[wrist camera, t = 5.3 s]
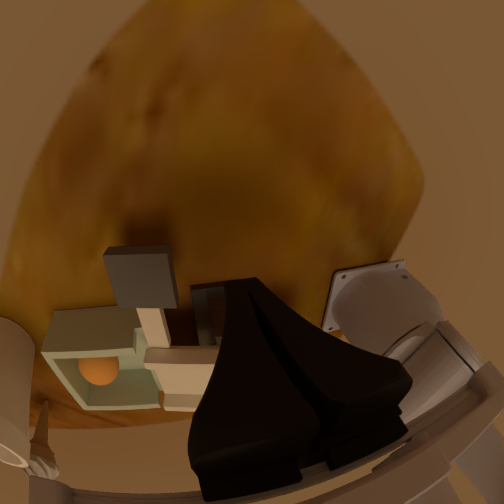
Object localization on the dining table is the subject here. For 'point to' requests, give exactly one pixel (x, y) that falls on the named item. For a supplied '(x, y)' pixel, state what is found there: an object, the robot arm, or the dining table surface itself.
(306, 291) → the dining table surface
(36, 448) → the ice cream cone
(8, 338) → the foam cup
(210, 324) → the lever stand
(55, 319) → the cup
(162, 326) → the lever board
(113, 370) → the ball
